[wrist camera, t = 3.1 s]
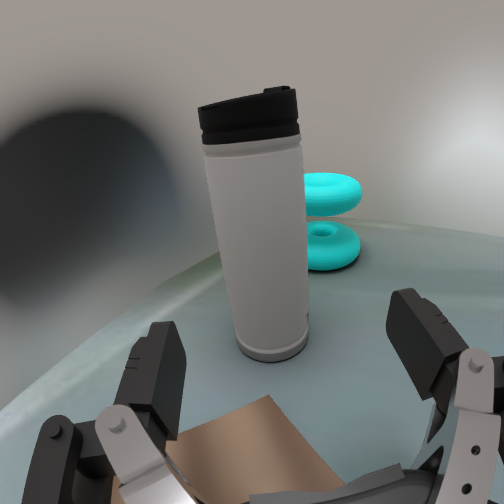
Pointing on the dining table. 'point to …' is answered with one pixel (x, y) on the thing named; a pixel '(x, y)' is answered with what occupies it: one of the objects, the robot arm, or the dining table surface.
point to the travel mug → (260, 218)
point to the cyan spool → (327, 232)
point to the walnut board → (247, 457)
